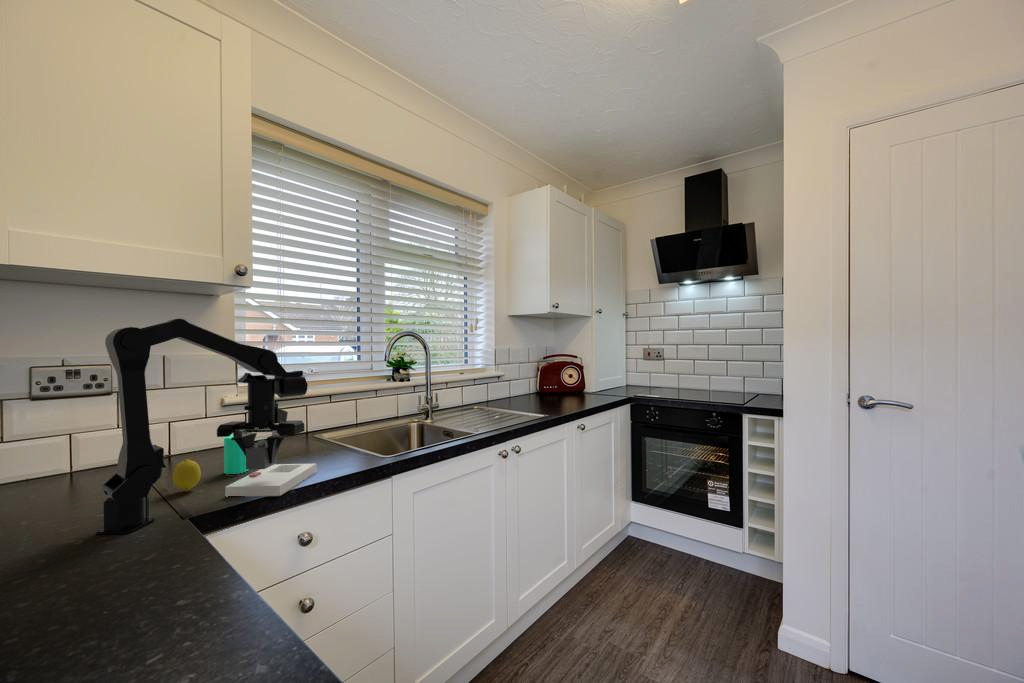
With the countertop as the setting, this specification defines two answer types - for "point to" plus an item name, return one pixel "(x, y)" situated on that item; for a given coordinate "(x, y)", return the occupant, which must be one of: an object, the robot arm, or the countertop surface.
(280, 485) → the socket plate
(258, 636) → the countertop surface
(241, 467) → the candle
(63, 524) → the countertop surface
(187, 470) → the lemon
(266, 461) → the plug
